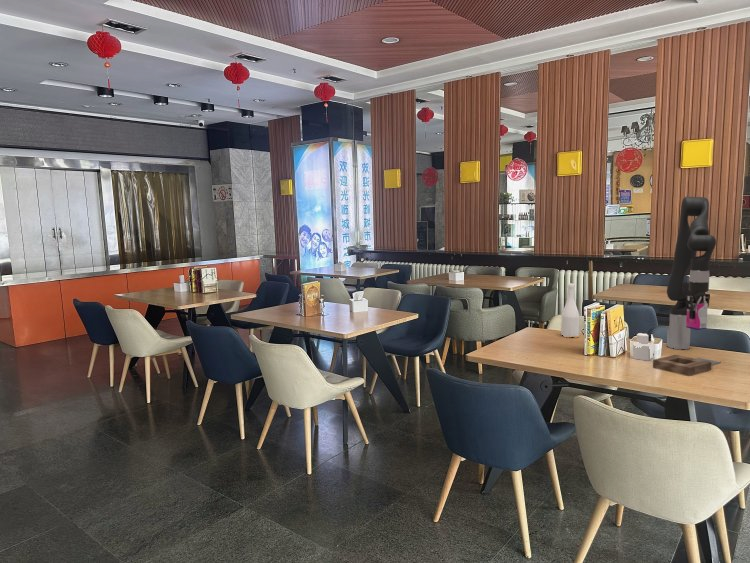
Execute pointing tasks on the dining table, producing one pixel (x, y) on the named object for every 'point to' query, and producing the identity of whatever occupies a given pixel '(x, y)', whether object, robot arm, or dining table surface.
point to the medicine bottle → (644, 351)
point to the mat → (709, 361)
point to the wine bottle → (570, 315)
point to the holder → (682, 365)
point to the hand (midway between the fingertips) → (696, 317)
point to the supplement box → (698, 317)
